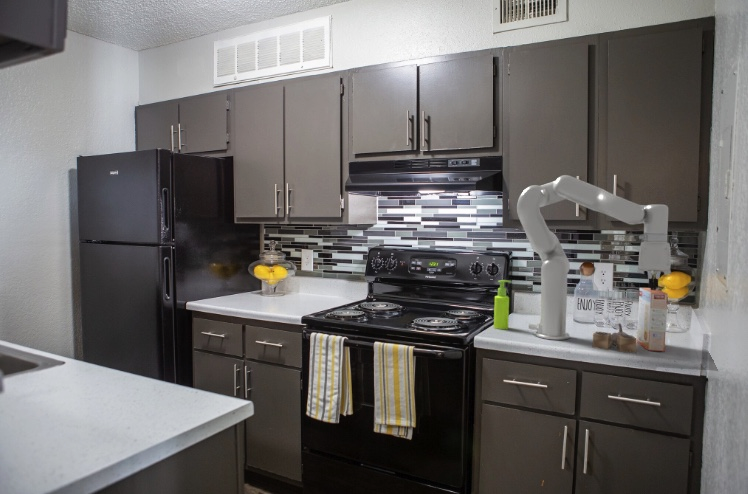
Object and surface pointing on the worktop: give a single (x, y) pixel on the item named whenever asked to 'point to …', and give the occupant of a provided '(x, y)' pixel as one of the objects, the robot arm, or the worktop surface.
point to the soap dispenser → (501, 307)
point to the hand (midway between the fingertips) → (653, 289)
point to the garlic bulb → (614, 335)
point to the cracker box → (652, 319)
